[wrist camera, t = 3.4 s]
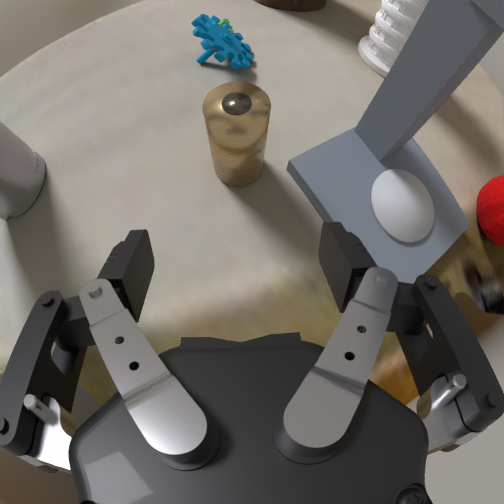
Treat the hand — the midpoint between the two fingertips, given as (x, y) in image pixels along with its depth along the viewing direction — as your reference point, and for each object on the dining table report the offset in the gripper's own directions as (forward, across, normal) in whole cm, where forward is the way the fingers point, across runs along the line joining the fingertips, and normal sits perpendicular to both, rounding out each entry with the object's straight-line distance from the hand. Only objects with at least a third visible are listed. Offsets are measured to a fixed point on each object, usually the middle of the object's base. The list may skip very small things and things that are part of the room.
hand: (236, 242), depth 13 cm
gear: (+31, -1, +11) cm, 32 cm away
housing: (+18, 0, -2) cm, 18 cm away
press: (+16, +20, -3) cm, 26 cm away
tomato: (+14, +35, -6) cm, 38 cm away
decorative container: (+32, +25, +13) cm, 43 cm away
